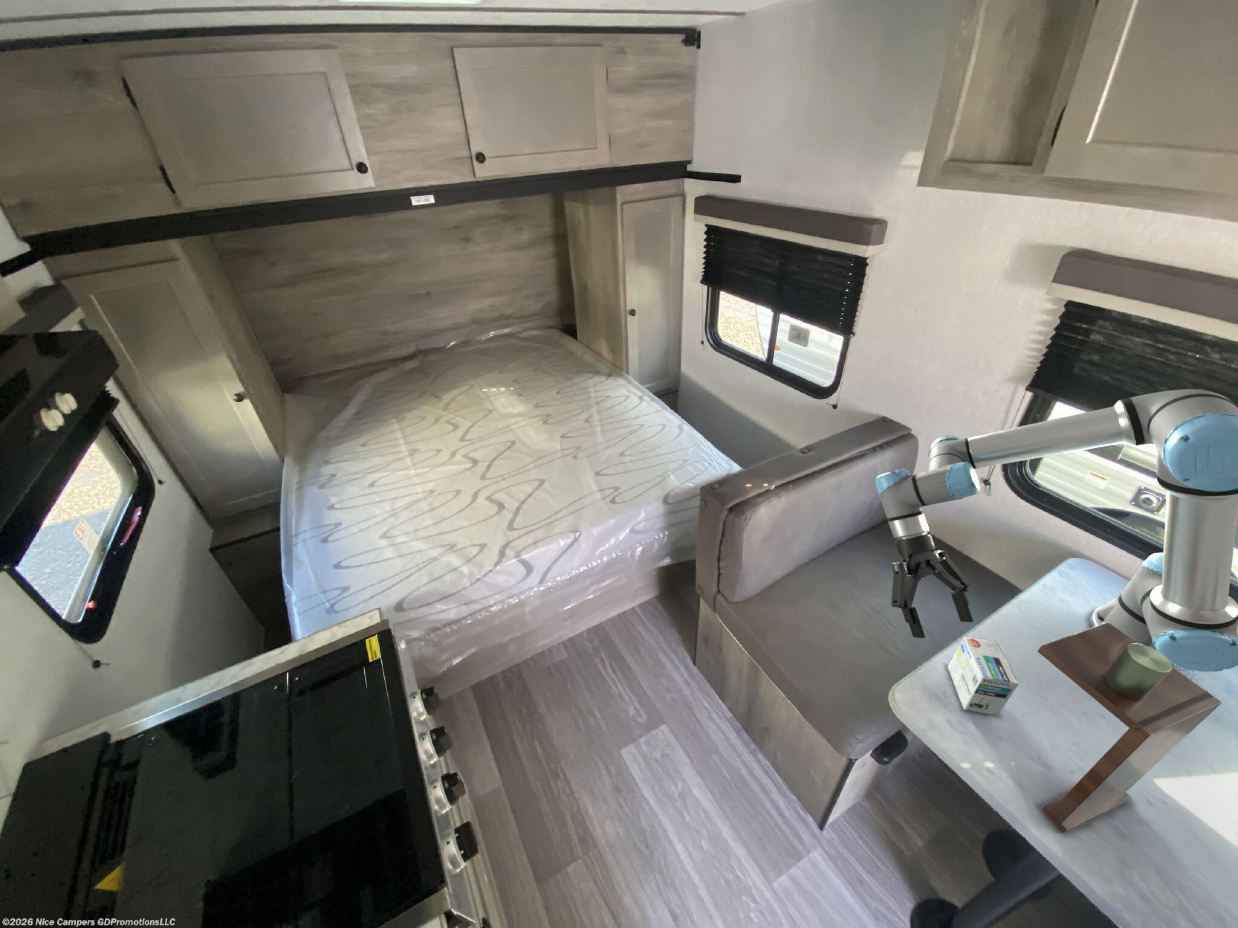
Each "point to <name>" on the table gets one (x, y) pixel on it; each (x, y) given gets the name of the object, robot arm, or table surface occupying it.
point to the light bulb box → (982, 676)
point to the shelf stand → (1124, 714)
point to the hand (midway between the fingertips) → (943, 629)
